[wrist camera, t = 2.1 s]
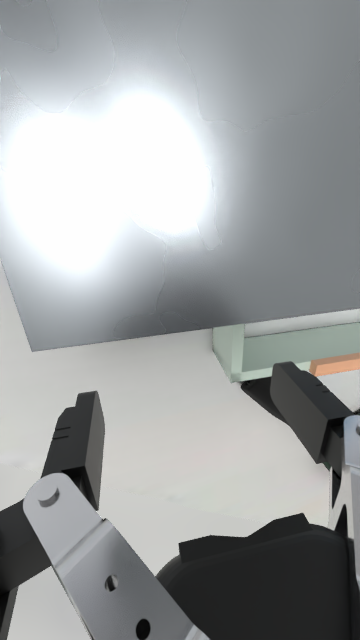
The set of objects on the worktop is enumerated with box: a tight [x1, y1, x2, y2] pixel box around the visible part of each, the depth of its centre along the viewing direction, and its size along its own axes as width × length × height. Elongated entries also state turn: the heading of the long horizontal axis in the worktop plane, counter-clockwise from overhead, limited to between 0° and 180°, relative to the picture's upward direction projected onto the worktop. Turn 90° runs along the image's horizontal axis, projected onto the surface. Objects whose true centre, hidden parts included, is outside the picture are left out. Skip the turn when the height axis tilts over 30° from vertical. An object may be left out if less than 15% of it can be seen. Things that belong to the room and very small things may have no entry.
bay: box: [213, 322, 360, 383], centre depth 20 cm, size 13×18×5 cm
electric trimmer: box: [241, 376, 290, 426], centre depth 28 cm, size 4×16×3 cm, turn 48°
